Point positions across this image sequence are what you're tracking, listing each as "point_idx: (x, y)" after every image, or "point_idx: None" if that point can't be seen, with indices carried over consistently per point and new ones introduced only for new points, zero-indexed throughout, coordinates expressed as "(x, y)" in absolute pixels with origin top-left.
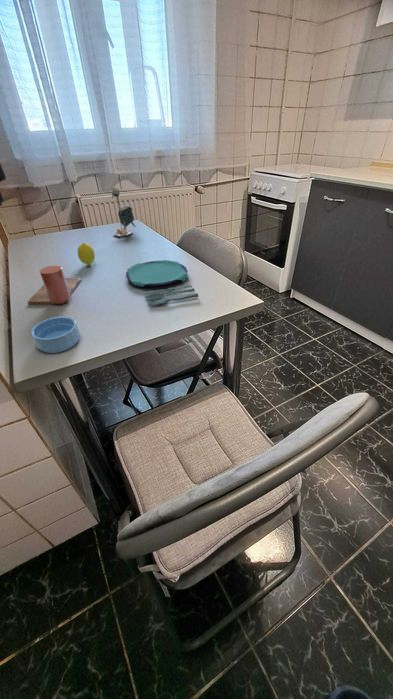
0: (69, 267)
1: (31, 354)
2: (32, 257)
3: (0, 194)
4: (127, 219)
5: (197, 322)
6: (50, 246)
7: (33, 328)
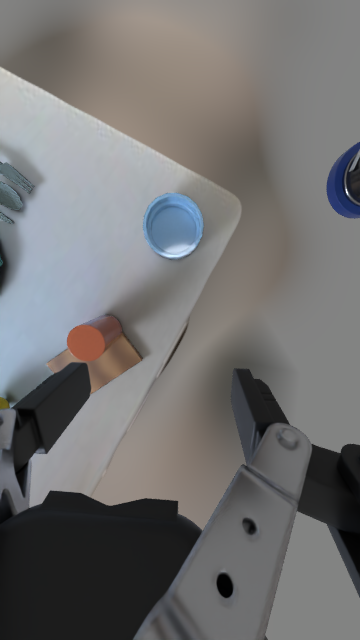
0: None
1: (209, 239)
2: None
3: (39, 386)
4: None
5: (16, 78)
6: None
7: (191, 249)
